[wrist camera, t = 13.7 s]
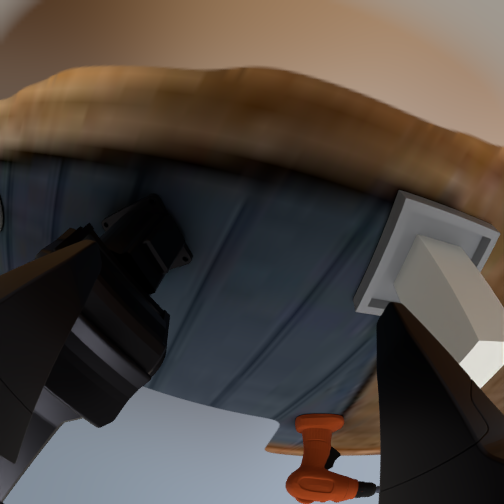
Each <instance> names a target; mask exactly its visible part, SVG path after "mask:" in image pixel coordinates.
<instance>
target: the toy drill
mask: <svg viewBox="0 0 504 504" xmlns="http://www.w3.org/2000/svg"><path fill="white" fill-rule="evenodd" d="M343 425H344V419H343V417H342V416H341V415H335V414H306V415H301V416H298V417H297V418H296V420H295V427H296V430H297V432H299V433H302V436H303V444H304V454H303V459H302V463H301V466H300V467H299V468H298V469H297V470H296V471H294V472H293V473H292V474H291V475H290V476H289V477H288V479H287V481H286V489H287V491H288V493H289V494H290V495H292V496H293V497H295V498H296V500H297V501H299V502H300V503H303V504H310V503H312V502H314V501H320V502H326V501H328V500H331V501H334V502H339V501H344V500H348V499H353V498H360V497H369V496H372V495H374V493H375V492H376V493H379V492H380V486H377V487H376V485H375V484H373V483H367V482H360V481H358V480H356V479H352V478H349V477H347V476H343V475H339V474H337V473H334V472H331V471H328V469H330V468H331V467H333V464H334V462H335V460H336V459H337V458H338V457H339V456H340V453H339V452H338V451H337V450H335V449H334V448H333V447H331V436H332V433H333V432H335V431H337V430H339V429H341V428H342V426H343Z"/></svg>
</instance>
